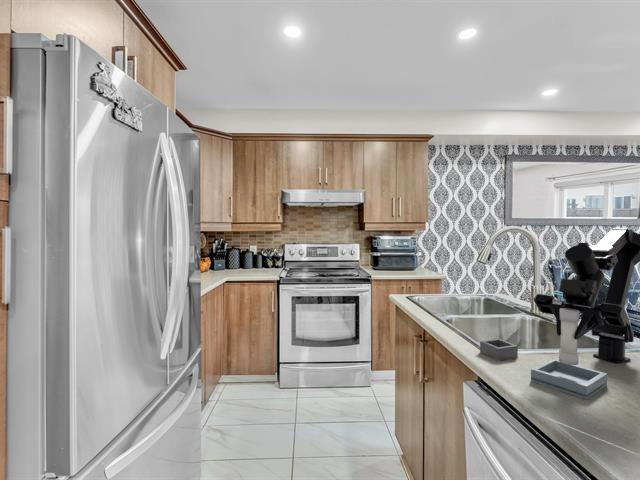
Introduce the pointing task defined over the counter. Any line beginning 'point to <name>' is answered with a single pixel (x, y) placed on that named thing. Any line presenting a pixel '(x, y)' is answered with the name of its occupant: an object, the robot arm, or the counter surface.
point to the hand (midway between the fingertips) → (566, 336)
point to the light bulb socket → (499, 349)
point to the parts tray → (569, 378)
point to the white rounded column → (569, 336)
